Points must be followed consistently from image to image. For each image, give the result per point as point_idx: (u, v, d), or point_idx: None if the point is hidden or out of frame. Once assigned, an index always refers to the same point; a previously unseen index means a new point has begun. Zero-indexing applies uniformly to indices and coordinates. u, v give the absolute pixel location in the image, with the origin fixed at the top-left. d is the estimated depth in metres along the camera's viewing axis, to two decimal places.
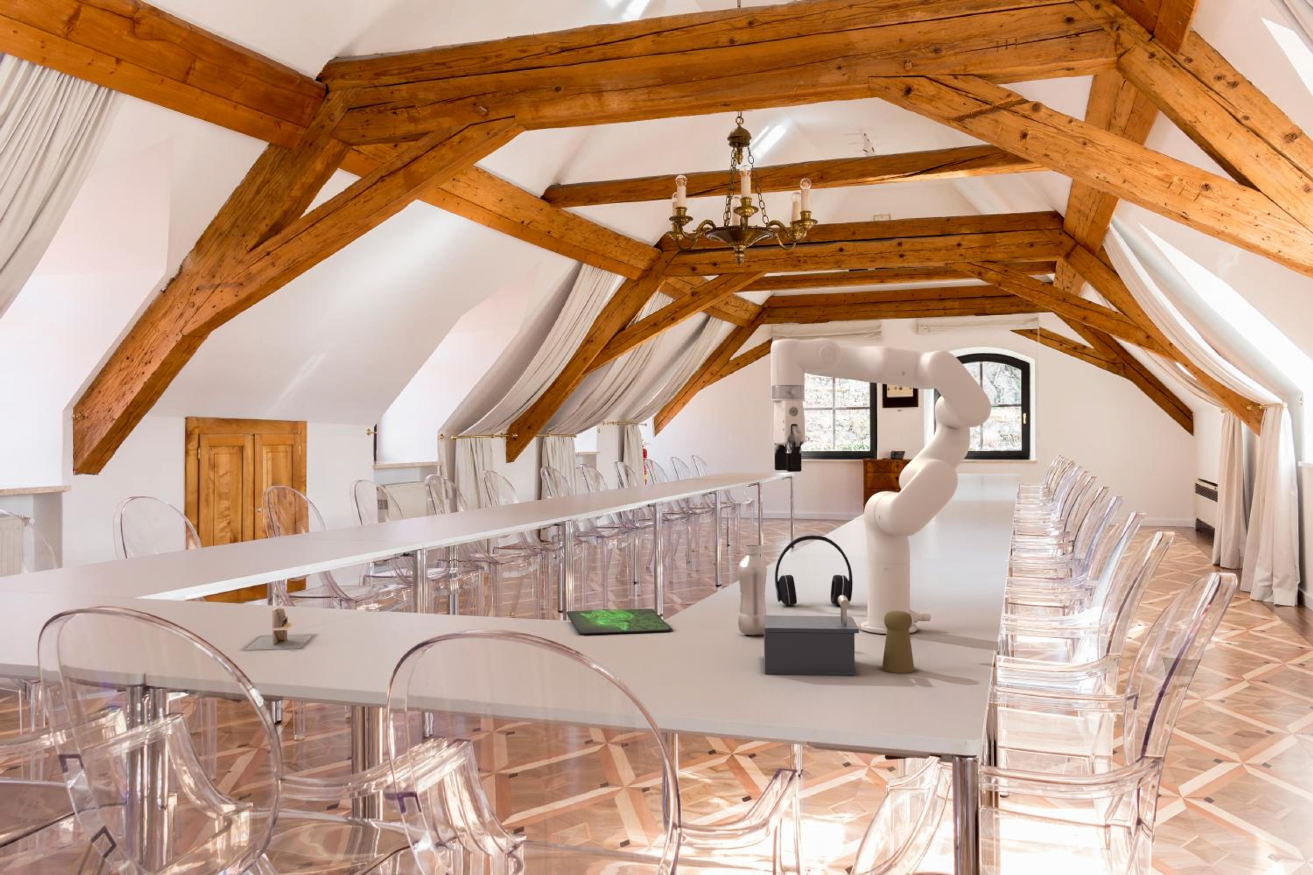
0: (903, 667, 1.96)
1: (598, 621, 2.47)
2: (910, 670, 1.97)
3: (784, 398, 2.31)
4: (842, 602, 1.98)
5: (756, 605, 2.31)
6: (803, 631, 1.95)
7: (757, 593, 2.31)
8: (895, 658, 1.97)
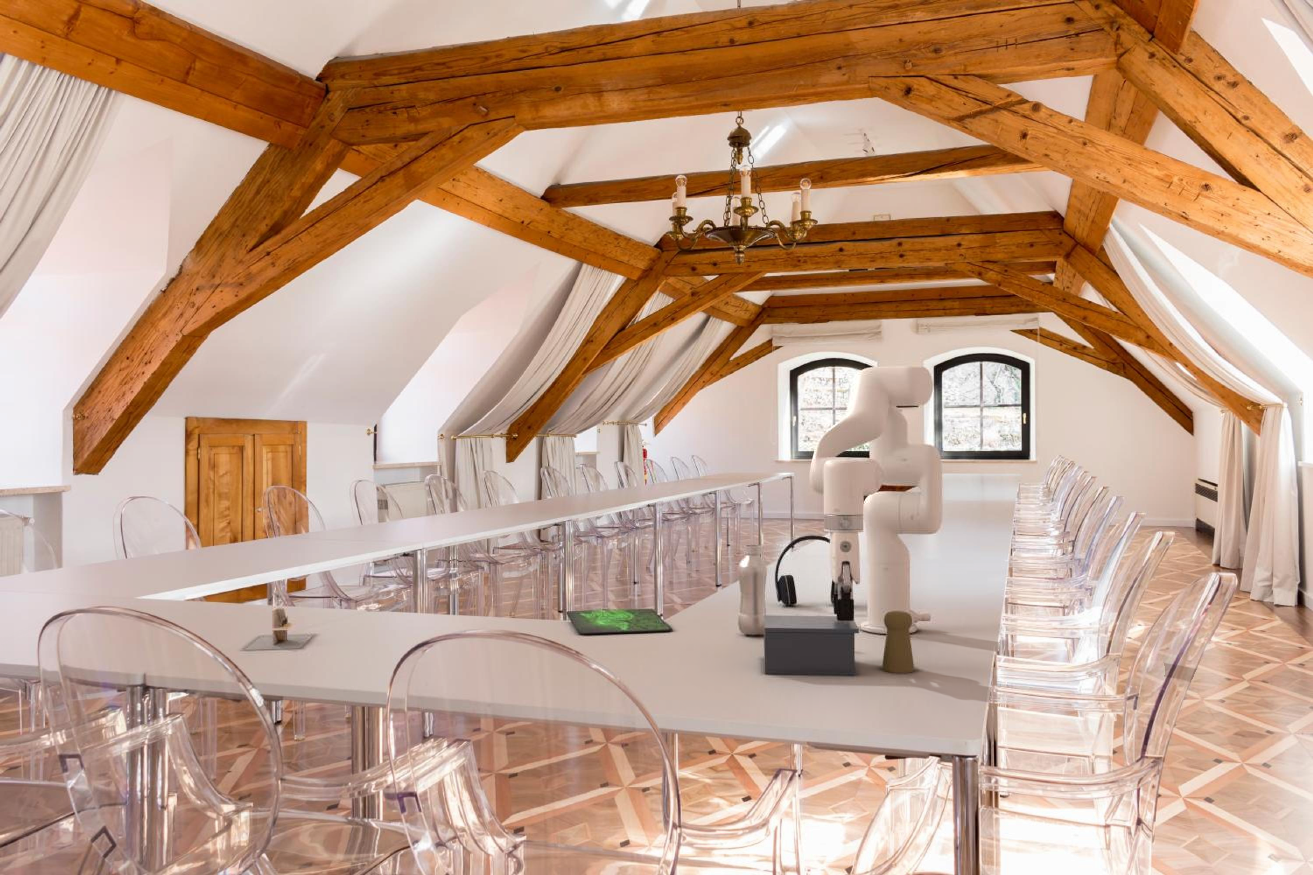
0: (903, 667, 1.96)
1: (598, 621, 2.47)
2: (910, 670, 1.97)
3: (835, 530, 1.98)
4: None
5: (756, 605, 2.31)
6: (803, 631, 1.95)
7: (757, 593, 2.31)
8: (895, 658, 1.97)
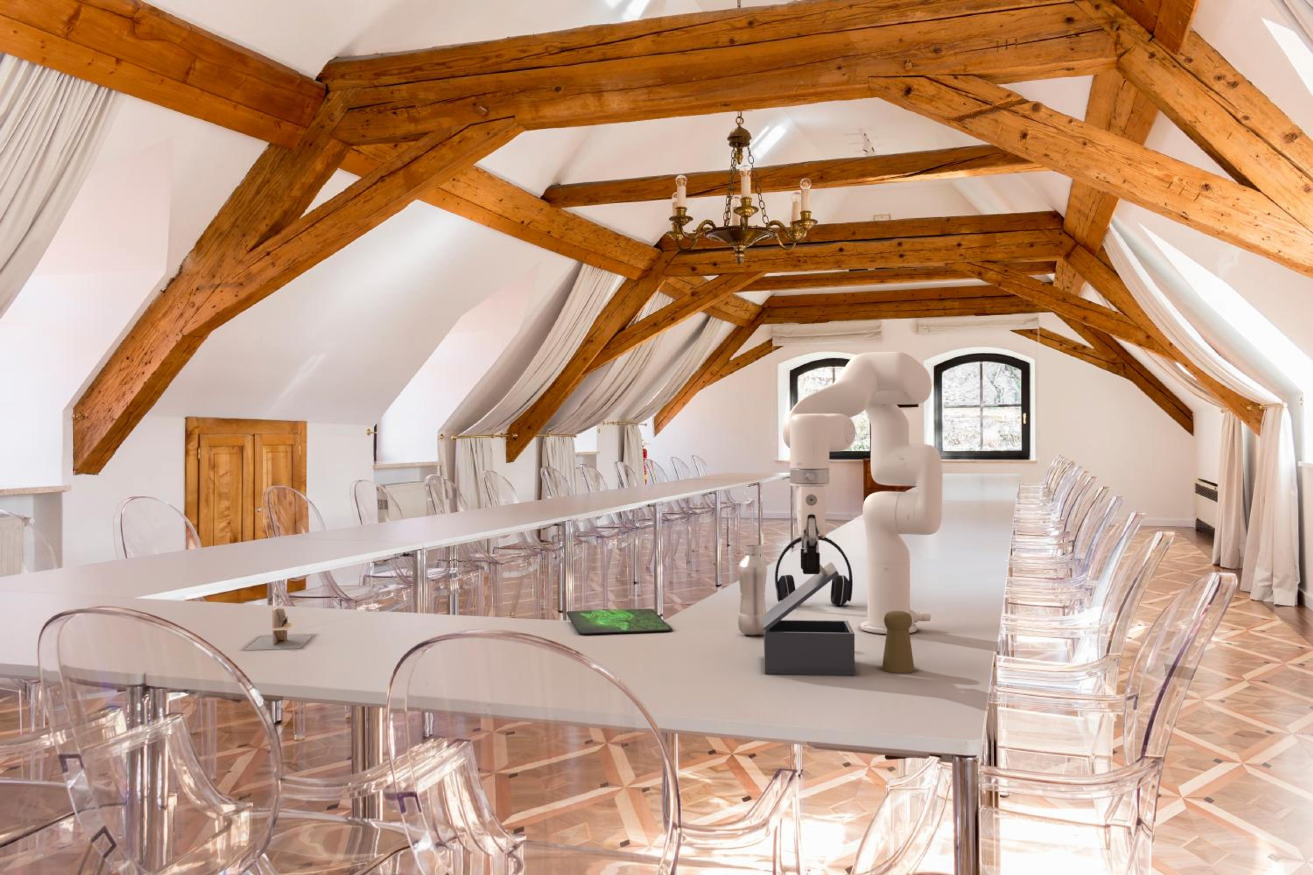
0: (903, 667, 1.96)
1: (598, 621, 2.47)
2: (910, 670, 1.97)
3: (801, 484, 1.98)
4: None
5: (756, 605, 2.31)
6: (795, 607, 1.95)
7: (757, 593, 2.31)
8: (895, 658, 1.97)
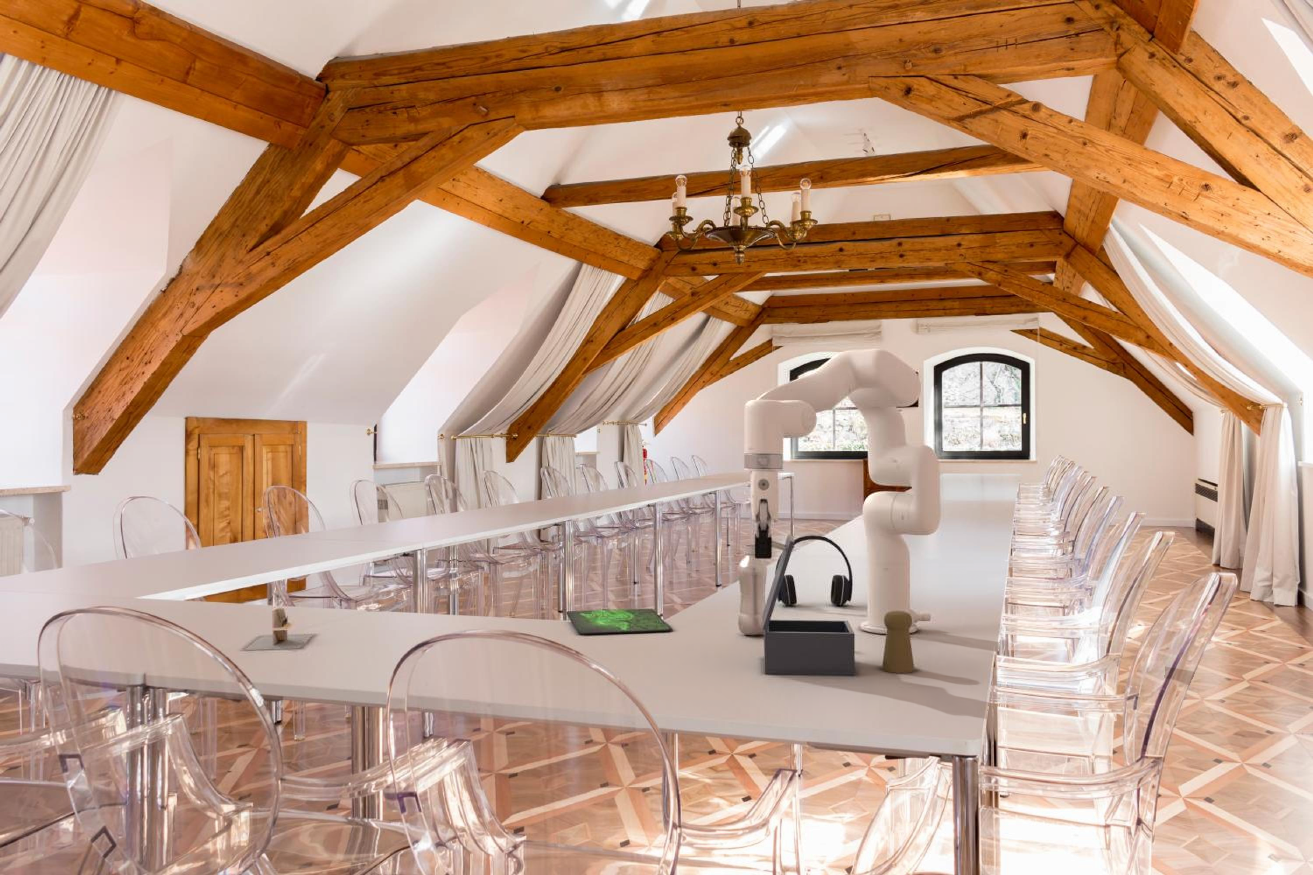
0: (903, 667, 1.96)
1: (598, 621, 2.47)
2: (910, 670, 1.97)
3: (754, 468, 1.99)
4: None
5: (756, 605, 2.31)
6: (777, 593, 1.95)
7: (757, 593, 2.31)
8: (895, 658, 1.97)
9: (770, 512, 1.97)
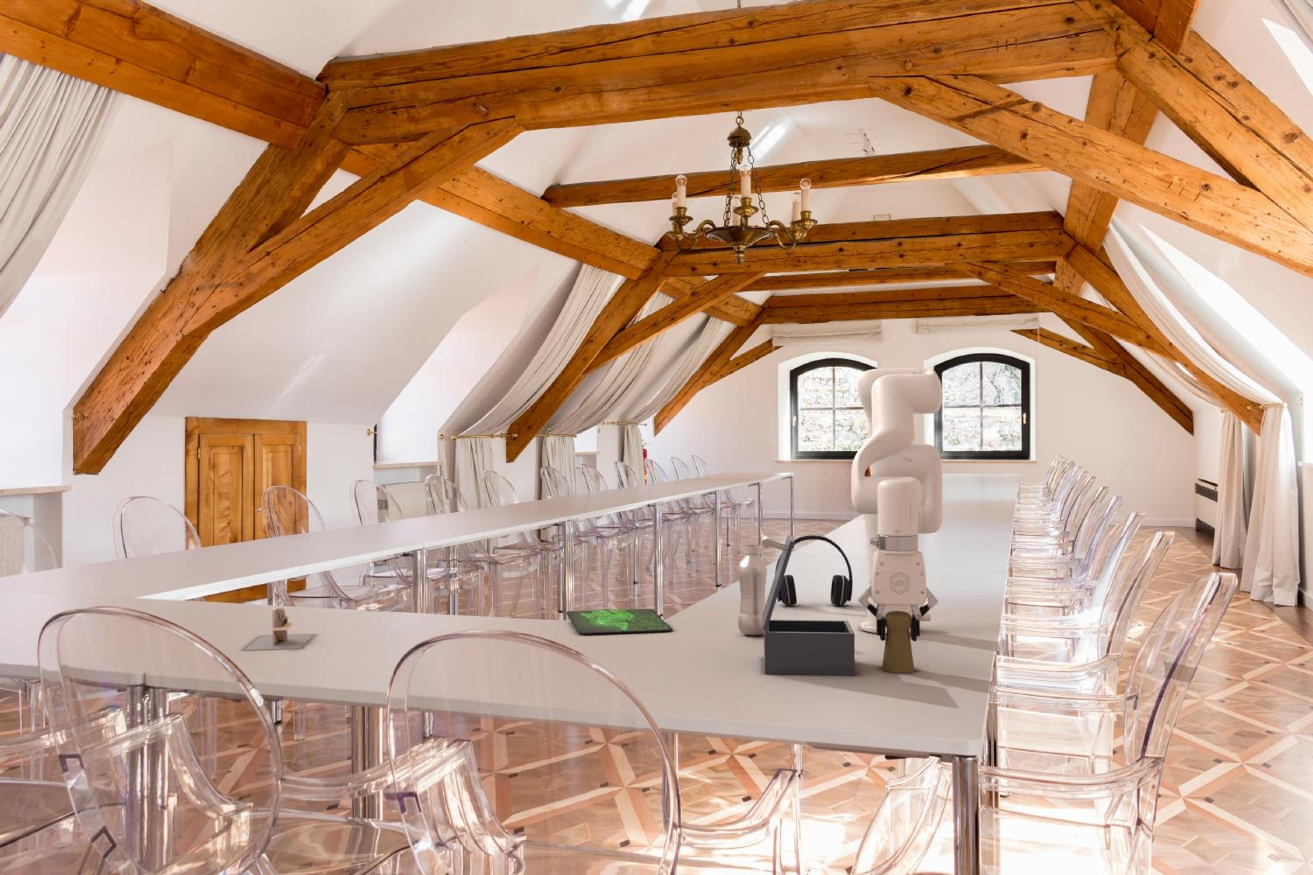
0: (903, 667, 1.96)
1: (598, 621, 2.47)
2: (910, 670, 1.97)
3: None
4: (763, 545, 1.99)
5: (756, 605, 2.31)
6: (777, 593, 1.95)
7: (757, 593, 2.31)
8: (895, 658, 1.97)
9: (871, 592, 1.98)
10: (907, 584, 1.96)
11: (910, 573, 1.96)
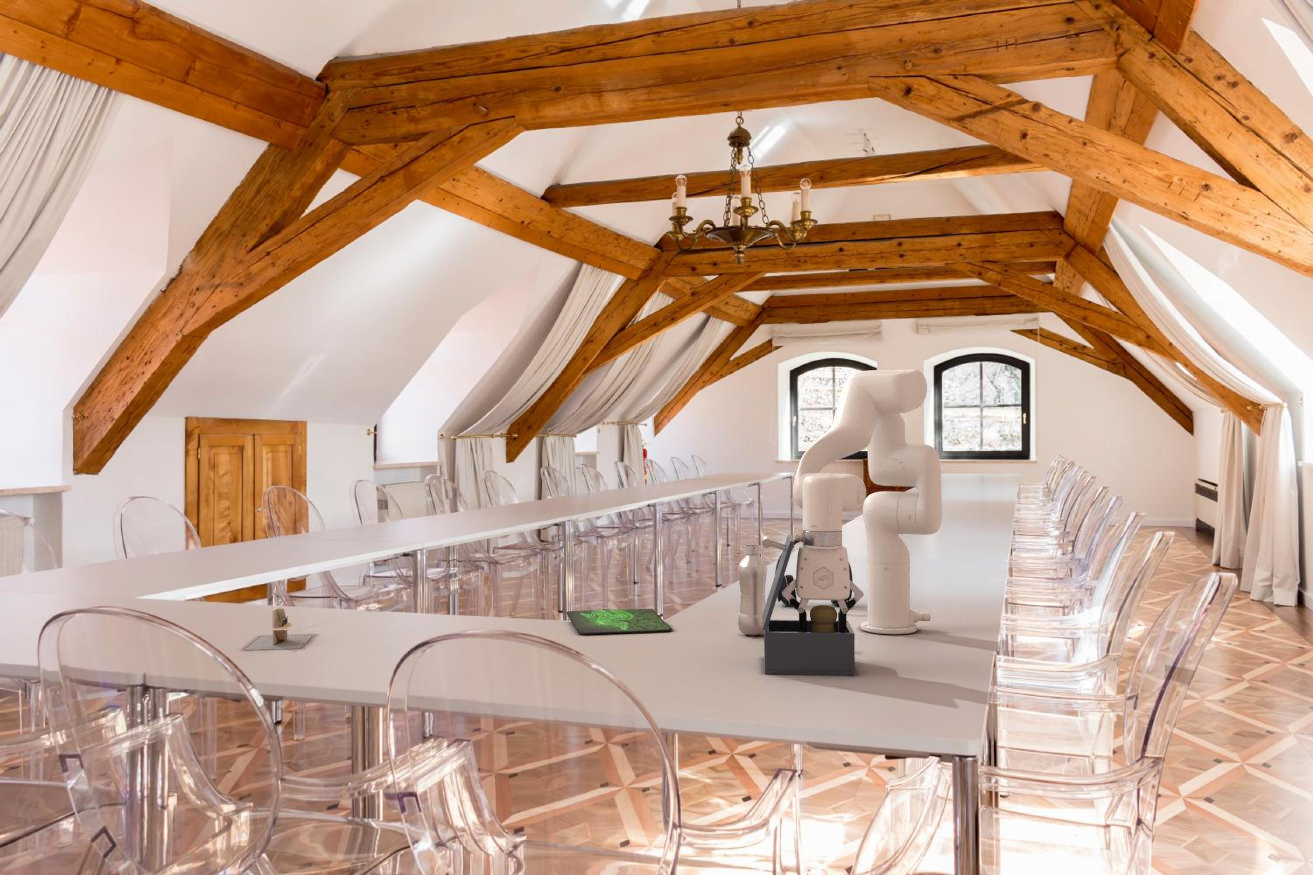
0: None
1: (598, 621, 2.47)
2: None
3: None
4: (763, 545, 1.99)
5: (756, 605, 2.31)
6: (777, 593, 1.95)
7: (757, 593, 2.31)
8: None
9: (796, 587, 2.00)
10: (830, 579, 1.98)
11: (833, 568, 1.98)
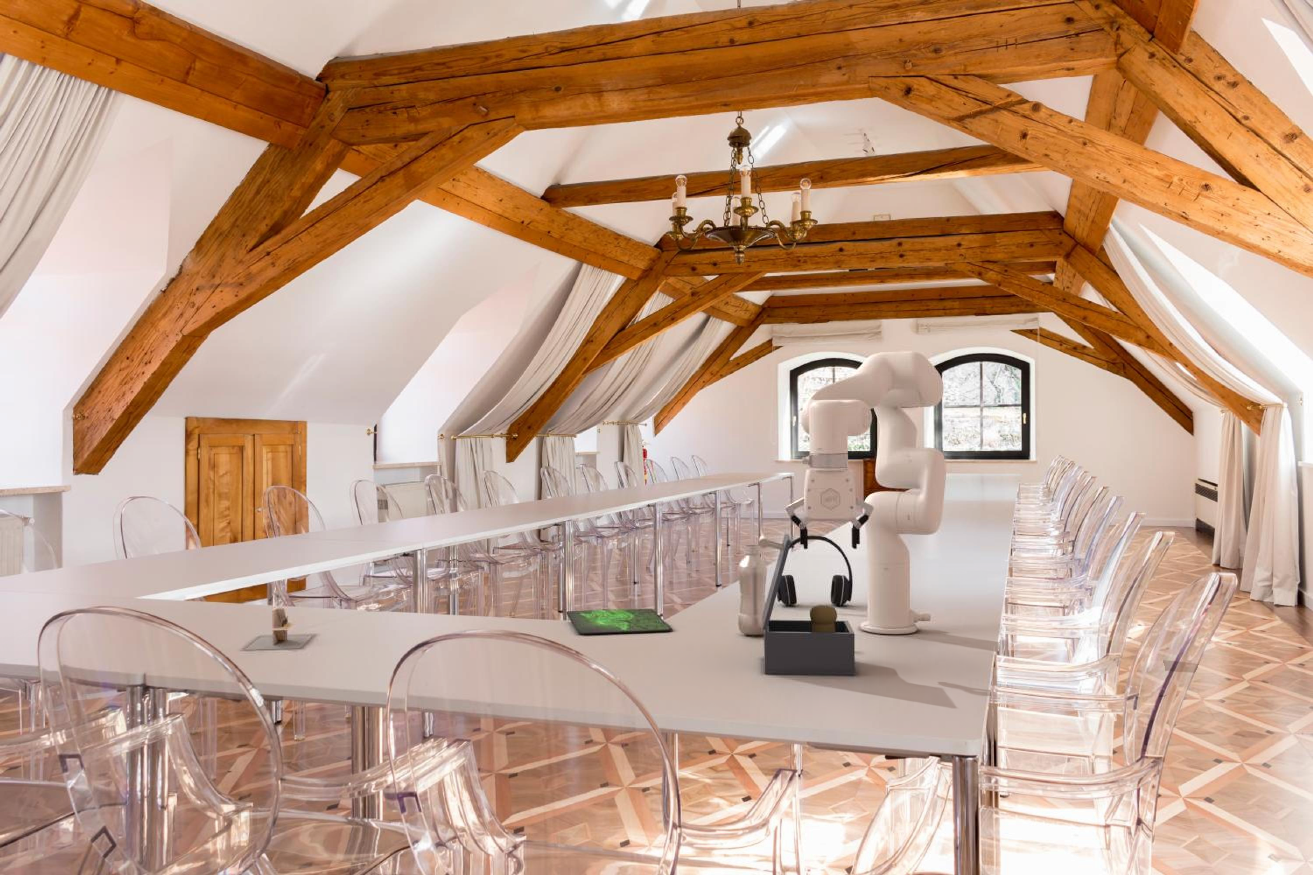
0: None
1: (598, 621, 2.47)
2: None
3: None
4: (761, 545, 1.99)
5: (756, 605, 2.31)
6: (775, 593, 1.95)
7: (757, 593, 2.31)
8: None
9: None
10: (837, 500, 2.06)
11: (840, 489, 2.05)
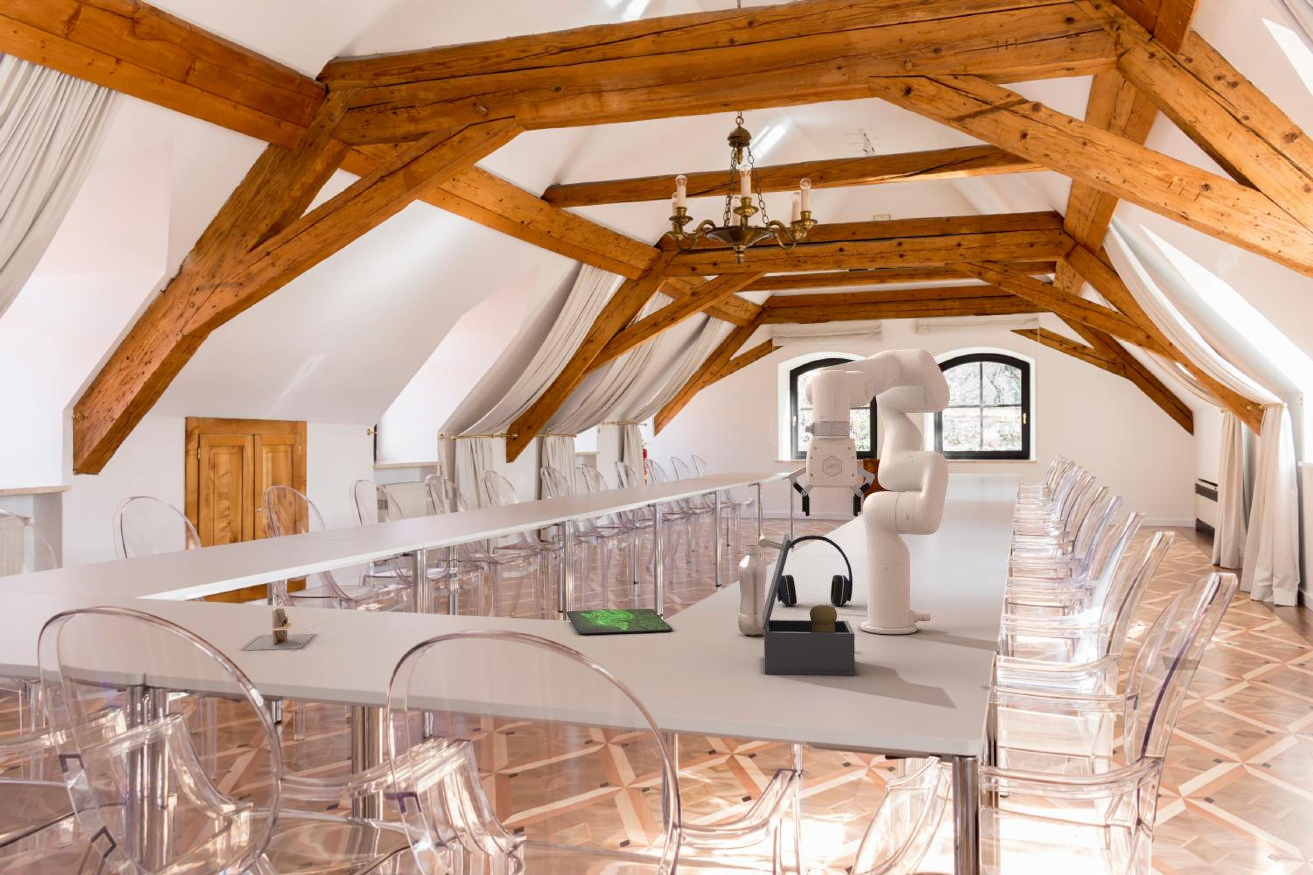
0: None
1: (598, 621, 2.47)
2: None
3: None
4: (761, 545, 1.99)
5: (756, 605, 2.31)
6: (775, 593, 1.95)
7: (757, 593, 2.31)
8: None
9: (806, 476, 2.11)
10: (839, 467, 2.09)
11: (842, 457, 2.09)
